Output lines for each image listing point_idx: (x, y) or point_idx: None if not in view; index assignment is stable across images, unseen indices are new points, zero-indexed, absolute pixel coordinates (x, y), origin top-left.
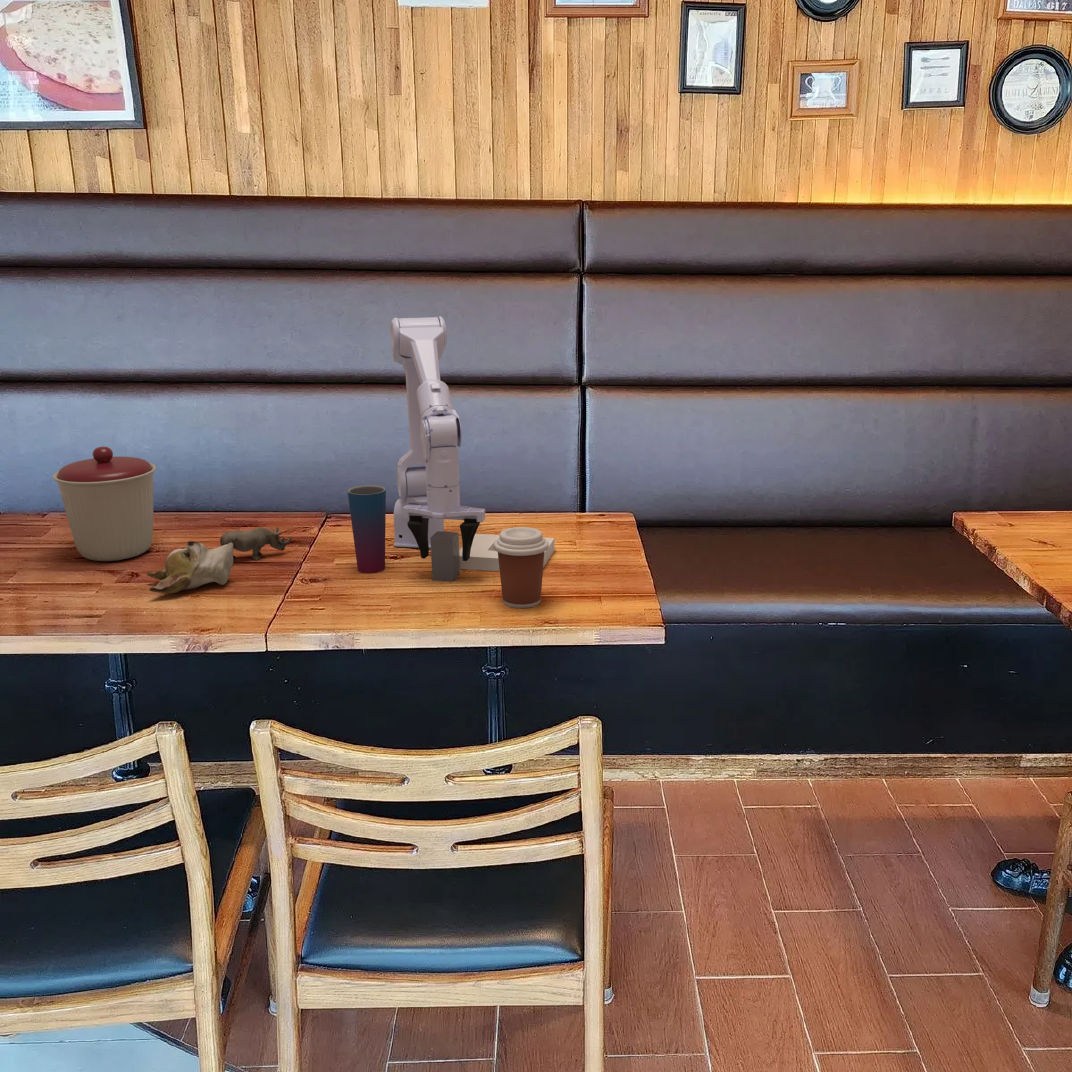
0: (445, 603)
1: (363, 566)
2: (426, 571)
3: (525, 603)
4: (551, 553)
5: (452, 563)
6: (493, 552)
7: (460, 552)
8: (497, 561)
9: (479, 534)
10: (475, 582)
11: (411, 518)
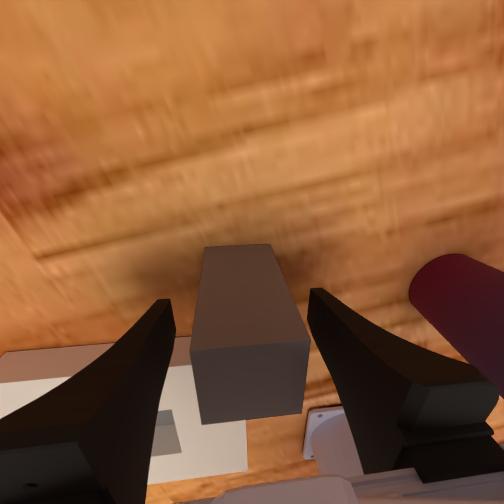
0: (141, 24)
1: (475, 261)
2: (303, 300)
3: None
4: None
5: (202, 276)
6: None
7: None
8: None
9: (234, 470)
10: (141, 259)
11: (483, 445)
